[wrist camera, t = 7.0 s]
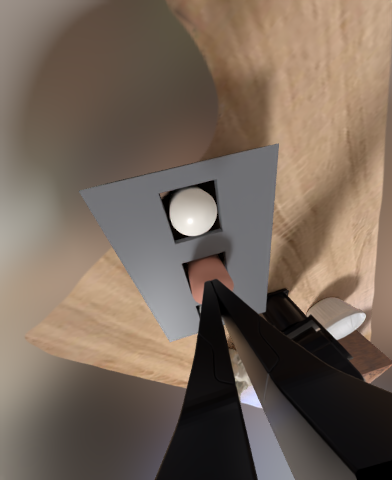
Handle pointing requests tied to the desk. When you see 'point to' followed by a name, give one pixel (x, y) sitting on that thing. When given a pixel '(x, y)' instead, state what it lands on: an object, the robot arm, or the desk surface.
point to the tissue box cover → (365, 356)
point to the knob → (192, 210)
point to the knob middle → (207, 274)
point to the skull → (239, 372)
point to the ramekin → (337, 316)
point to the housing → (194, 247)
